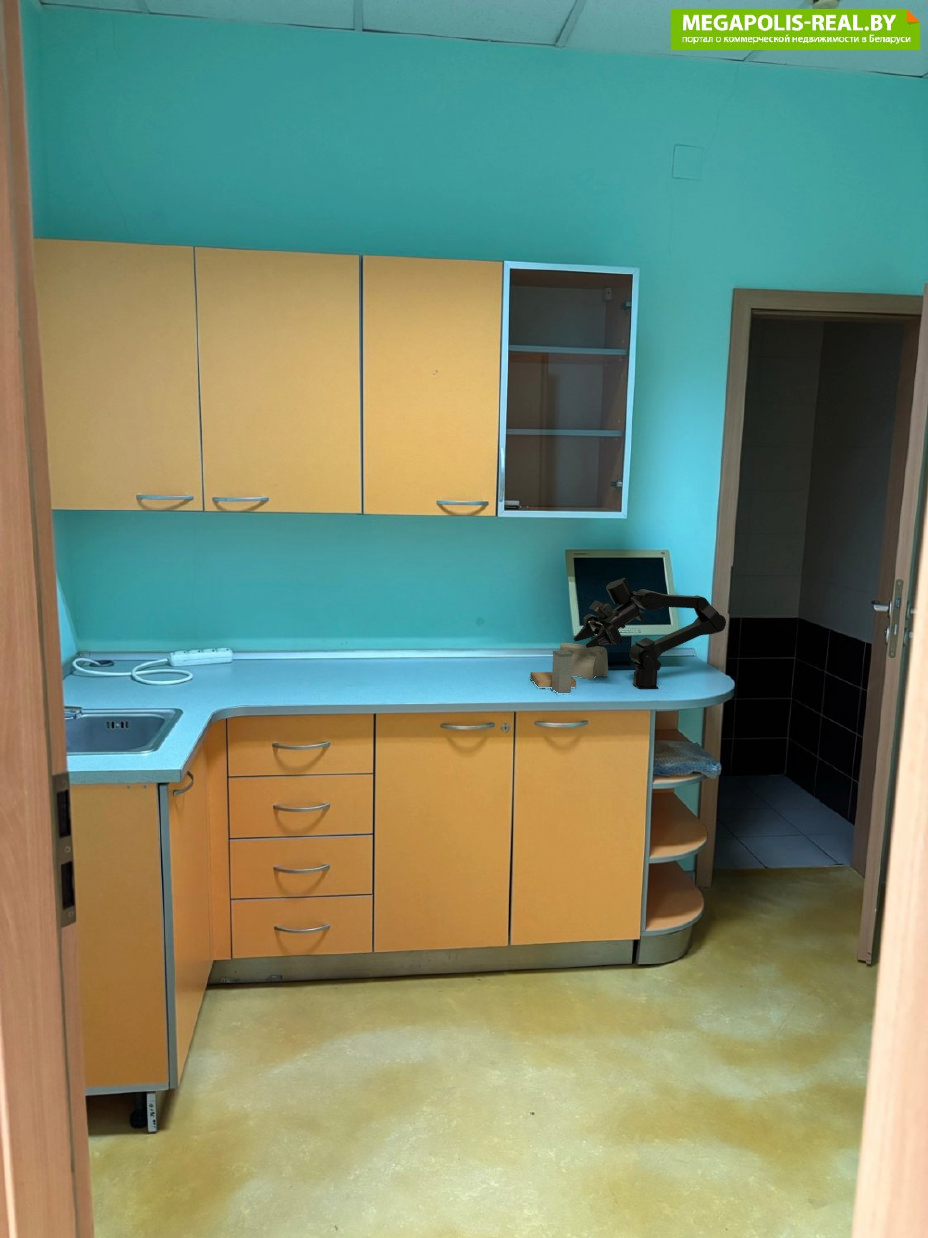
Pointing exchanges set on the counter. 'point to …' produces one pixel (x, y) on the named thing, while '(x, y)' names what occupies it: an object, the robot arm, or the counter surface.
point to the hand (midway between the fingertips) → (580, 643)
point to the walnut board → (546, 679)
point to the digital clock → (587, 660)
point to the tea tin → (562, 671)
